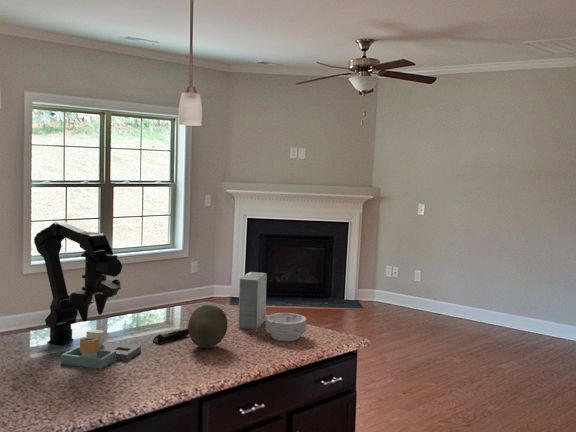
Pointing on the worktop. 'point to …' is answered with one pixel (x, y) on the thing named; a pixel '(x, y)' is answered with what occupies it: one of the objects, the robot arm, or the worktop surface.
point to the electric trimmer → (170, 336)
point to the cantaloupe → (207, 326)
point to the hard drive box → (252, 300)
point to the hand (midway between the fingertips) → (92, 317)
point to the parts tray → (88, 358)
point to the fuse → (97, 335)
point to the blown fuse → (89, 346)
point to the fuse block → (122, 350)
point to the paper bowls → (285, 326)
